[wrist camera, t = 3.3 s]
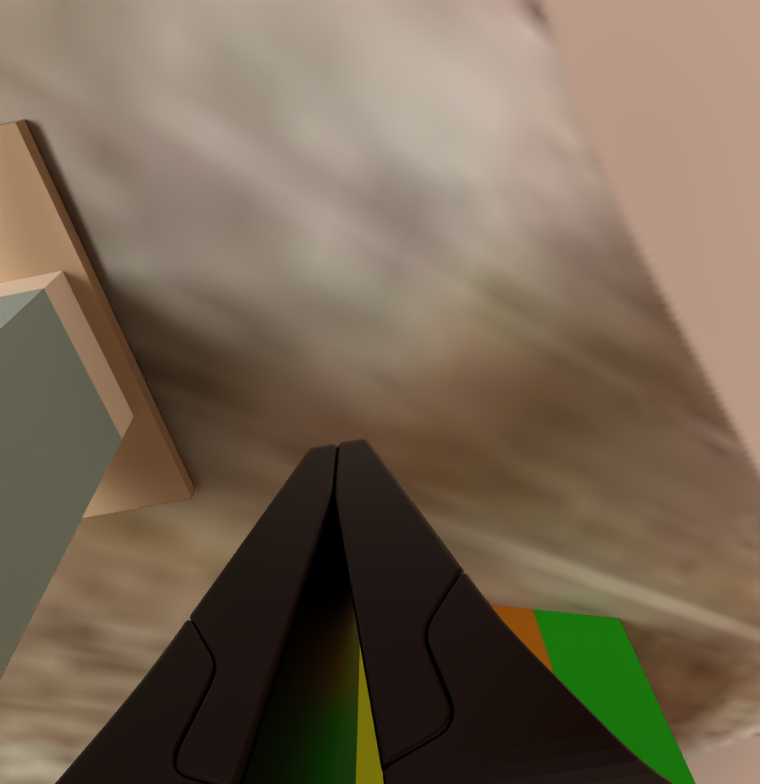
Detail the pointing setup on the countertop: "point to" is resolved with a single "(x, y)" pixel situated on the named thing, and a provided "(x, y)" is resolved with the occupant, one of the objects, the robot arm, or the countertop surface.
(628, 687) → the puzzle toy
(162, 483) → the mat
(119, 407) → the pillar
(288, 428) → the countertop surface
